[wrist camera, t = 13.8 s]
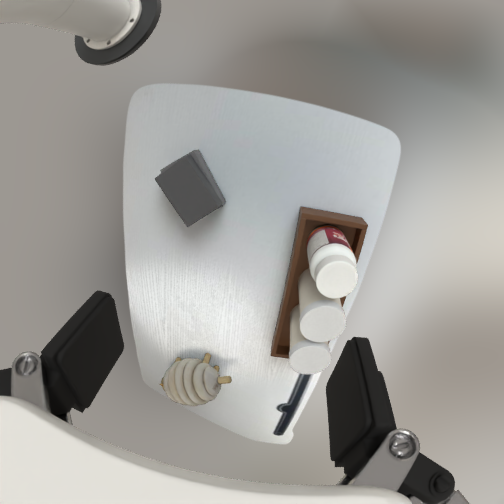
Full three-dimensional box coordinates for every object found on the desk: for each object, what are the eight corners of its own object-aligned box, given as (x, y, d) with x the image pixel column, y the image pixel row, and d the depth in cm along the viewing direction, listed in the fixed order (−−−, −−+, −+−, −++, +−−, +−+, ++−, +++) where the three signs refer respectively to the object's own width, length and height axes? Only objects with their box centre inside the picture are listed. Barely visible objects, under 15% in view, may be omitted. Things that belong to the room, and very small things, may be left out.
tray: (300, 206, 40) (301, 212, 37) (362, 217, 40) (368, 225, 37) (271, 344, 52) (270, 356, 49) (319, 350, 51) (321, 362, 48)
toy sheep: (158, 352, 57) (140, 388, 47) (221, 337, 53) (208, 380, 43) (183, 381, 61) (170, 416, 51) (244, 370, 56) (237, 411, 46)
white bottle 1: (296, 266, 43) (299, 307, 33) (335, 264, 42) (348, 304, 32) (297, 299, 46) (299, 343, 36) (334, 297, 45) (344, 341, 35)
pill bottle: (353, 241, 40) (372, 278, 30) (325, 268, 43) (335, 310, 33) (325, 215, 39) (339, 246, 29) (297, 244, 42) (301, 282, 31)
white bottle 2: (288, 302, 46) (288, 347, 36) (324, 300, 45) (332, 345, 35) (289, 329, 49) (289, 375, 39) (323, 328, 48) (329, 373, 38)
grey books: (165, 168, 40) (151, 173, 35) (200, 148, 38) (189, 151, 34) (192, 219, 43) (182, 229, 38) (227, 202, 41) (221, 211, 37)
